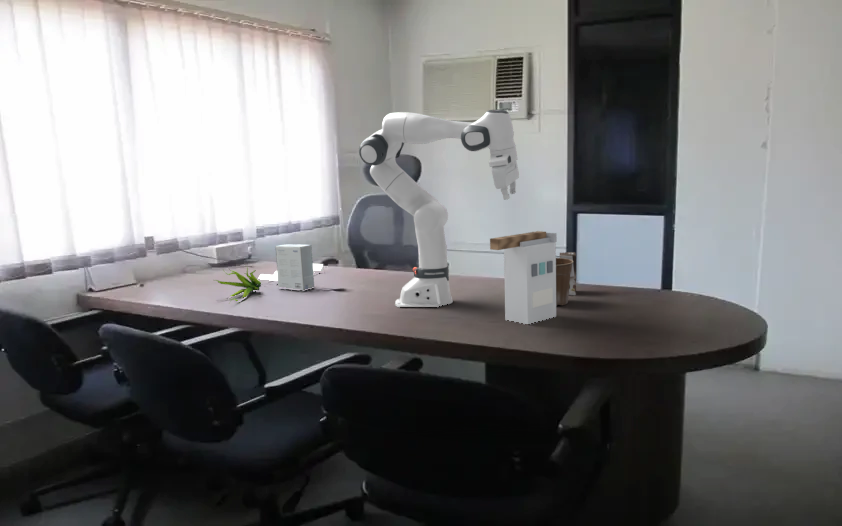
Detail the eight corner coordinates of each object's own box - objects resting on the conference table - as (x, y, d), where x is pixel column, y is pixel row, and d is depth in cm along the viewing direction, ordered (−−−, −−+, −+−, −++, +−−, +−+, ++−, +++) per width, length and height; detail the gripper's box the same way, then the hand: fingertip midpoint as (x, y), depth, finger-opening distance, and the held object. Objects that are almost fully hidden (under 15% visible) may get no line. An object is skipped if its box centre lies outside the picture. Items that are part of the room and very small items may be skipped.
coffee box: (576, 295, 264) (576, 255, 261) (559, 295, 265) (559, 255, 262) (575, 290, 272) (575, 251, 270) (559, 290, 274) (559, 251, 271)
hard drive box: (315, 288, 299) (312, 244, 296) (303, 292, 293) (300, 247, 289) (289, 286, 307) (286, 243, 304) (277, 289, 301) (274, 245, 298)
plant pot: (570, 308, 241) (570, 265, 239) (526, 307, 247) (525, 264, 245) (576, 299, 256) (576, 258, 254) (534, 297, 262) (533, 257, 260)
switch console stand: (528, 325, 221) (527, 238, 216) (505, 320, 229) (503, 236, 224) (558, 316, 231) (557, 233, 226) (534, 312, 239) (533, 231, 234)
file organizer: (255, 284, 318) (254, 274, 318) (304, 272, 348) (303, 262, 347) (275, 286, 311) (274, 275, 311) (323, 274, 341) (323, 264, 340)
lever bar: (498, 250, 213) (497, 239, 213) (490, 249, 216) (489, 238, 215) (546, 241, 228) (546, 231, 228) (538, 241, 231) (538, 231, 231)
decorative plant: (199, 305, 275) (195, 270, 273) (253, 291, 300) (250, 259, 297) (229, 309, 265) (225, 272, 263) (282, 294, 290) (279, 260, 288)
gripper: (502, 153, 239) (508, 191, 242) (487, 162, 221) (493, 203, 224) (519, 151, 237) (525, 189, 240) (505, 160, 218) (511, 201, 222)
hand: (510, 196), depth 232 cm, fingers open, 8 cm apart
